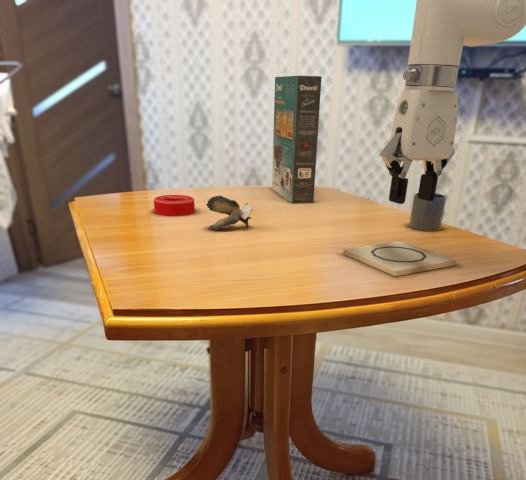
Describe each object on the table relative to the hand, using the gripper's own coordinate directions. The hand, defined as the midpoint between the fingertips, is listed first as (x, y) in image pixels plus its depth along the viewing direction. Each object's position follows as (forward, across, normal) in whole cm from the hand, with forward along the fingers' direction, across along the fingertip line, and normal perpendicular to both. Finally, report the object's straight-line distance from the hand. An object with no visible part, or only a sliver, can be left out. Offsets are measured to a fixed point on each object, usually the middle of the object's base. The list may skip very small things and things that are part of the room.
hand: (411, 200), depth 86 cm
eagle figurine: (+11, -17, +35) cm, 41 cm away
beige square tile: (+11, 0, +1) cm, 11 cm away
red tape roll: (+11, -22, +55) cm, 60 cm away
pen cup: (+11, +23, +17) cm, 31 cm away
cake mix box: (+11, +16, +62) cm, 65 cm away
